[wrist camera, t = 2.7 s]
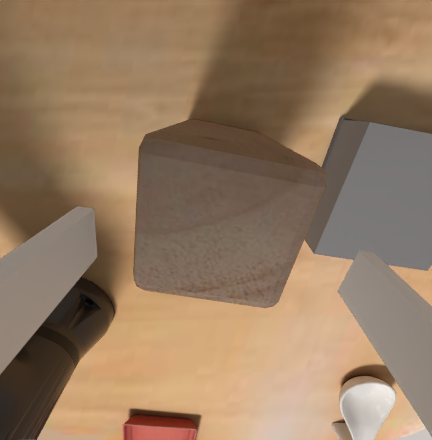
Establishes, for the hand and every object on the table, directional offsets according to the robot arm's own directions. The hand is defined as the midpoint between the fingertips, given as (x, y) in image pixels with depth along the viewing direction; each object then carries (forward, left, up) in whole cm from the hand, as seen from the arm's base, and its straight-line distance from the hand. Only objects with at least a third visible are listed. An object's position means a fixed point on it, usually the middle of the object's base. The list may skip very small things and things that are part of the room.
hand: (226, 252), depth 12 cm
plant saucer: (-3, -73, -22) cm, 76 cm away
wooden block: (0, 0, -22) cm, 22 cm away
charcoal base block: (+22, 0, -21) cm, 30 cm away
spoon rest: (+41, -50, -22) cm, 68 cm away
